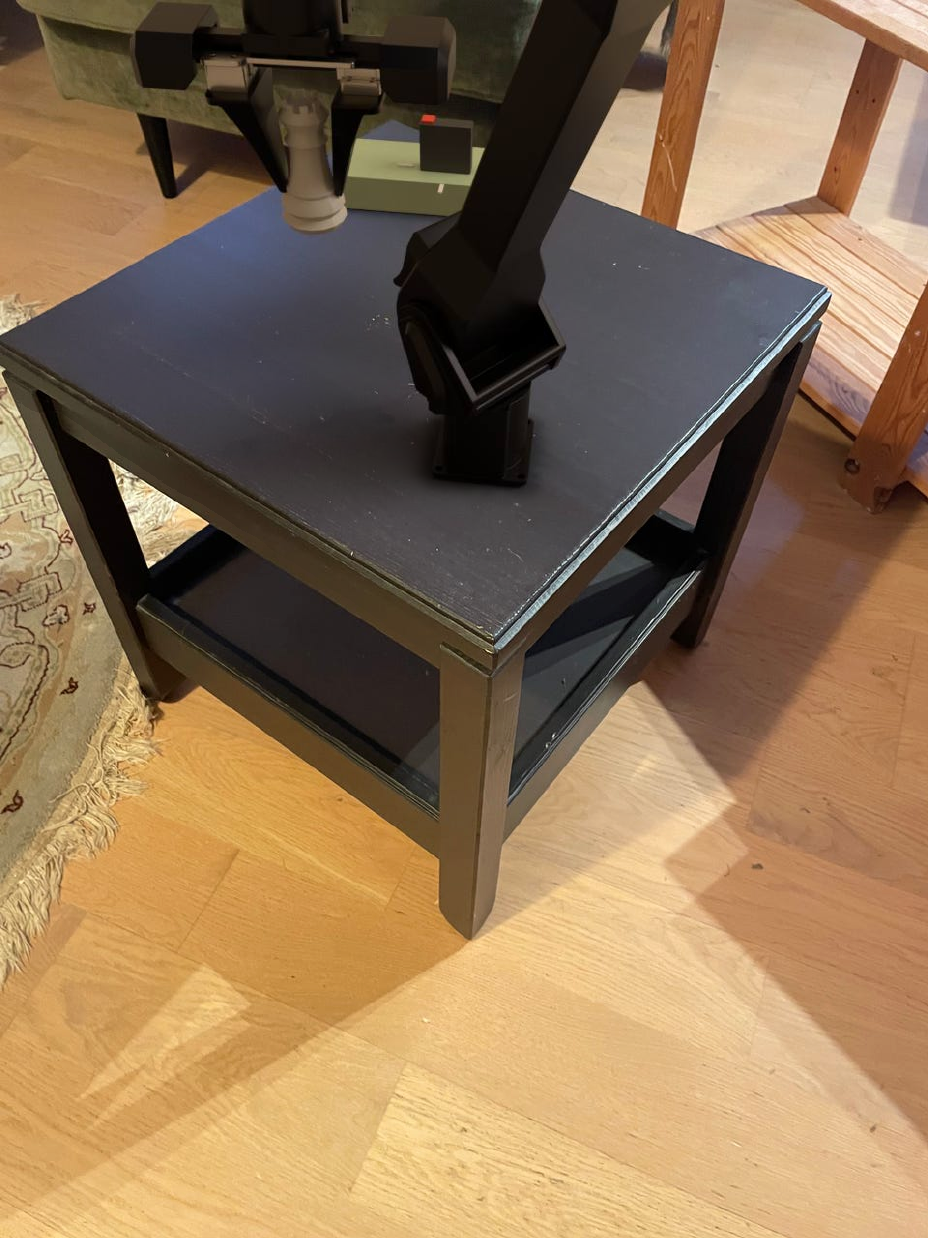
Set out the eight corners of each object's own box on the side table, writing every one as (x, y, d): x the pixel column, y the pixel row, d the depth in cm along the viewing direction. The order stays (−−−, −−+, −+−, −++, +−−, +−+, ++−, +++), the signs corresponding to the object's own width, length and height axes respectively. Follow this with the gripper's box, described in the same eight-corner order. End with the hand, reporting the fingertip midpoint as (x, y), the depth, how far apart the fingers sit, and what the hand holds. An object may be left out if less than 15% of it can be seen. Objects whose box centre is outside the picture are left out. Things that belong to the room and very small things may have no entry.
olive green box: (488, 230, 82) (489, 195, 79) (340, 218, 83) (336, 183, 80) (497, 180, 87) (499, 146, 85) (358, 170, 88) (356, 136, 86)
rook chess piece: (361, 220, 64) (352, 98, 57) (310, 245, 62) (295, 121, 55) (320, 196, 66) (307, 75, 59) (269, 219, 64) (250, 96, 57)
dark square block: (472, 166, 83) (473, 117, 79) (470, 174, 82) (471, 124, 78) (422, 162, 83) (421, 113, 80) (420, 170, 82) (418, 120, 79)
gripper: (466, -128, 54) (462, 142, 67) (154, -143, 55) (207, 127, 67) (447, -64, 48) (446, 224, 60) (91, -82, 48) (163, 206, 61)
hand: (313, 191), depth 62 cm, fingers closed on rook chess piece, 3 cm apart
